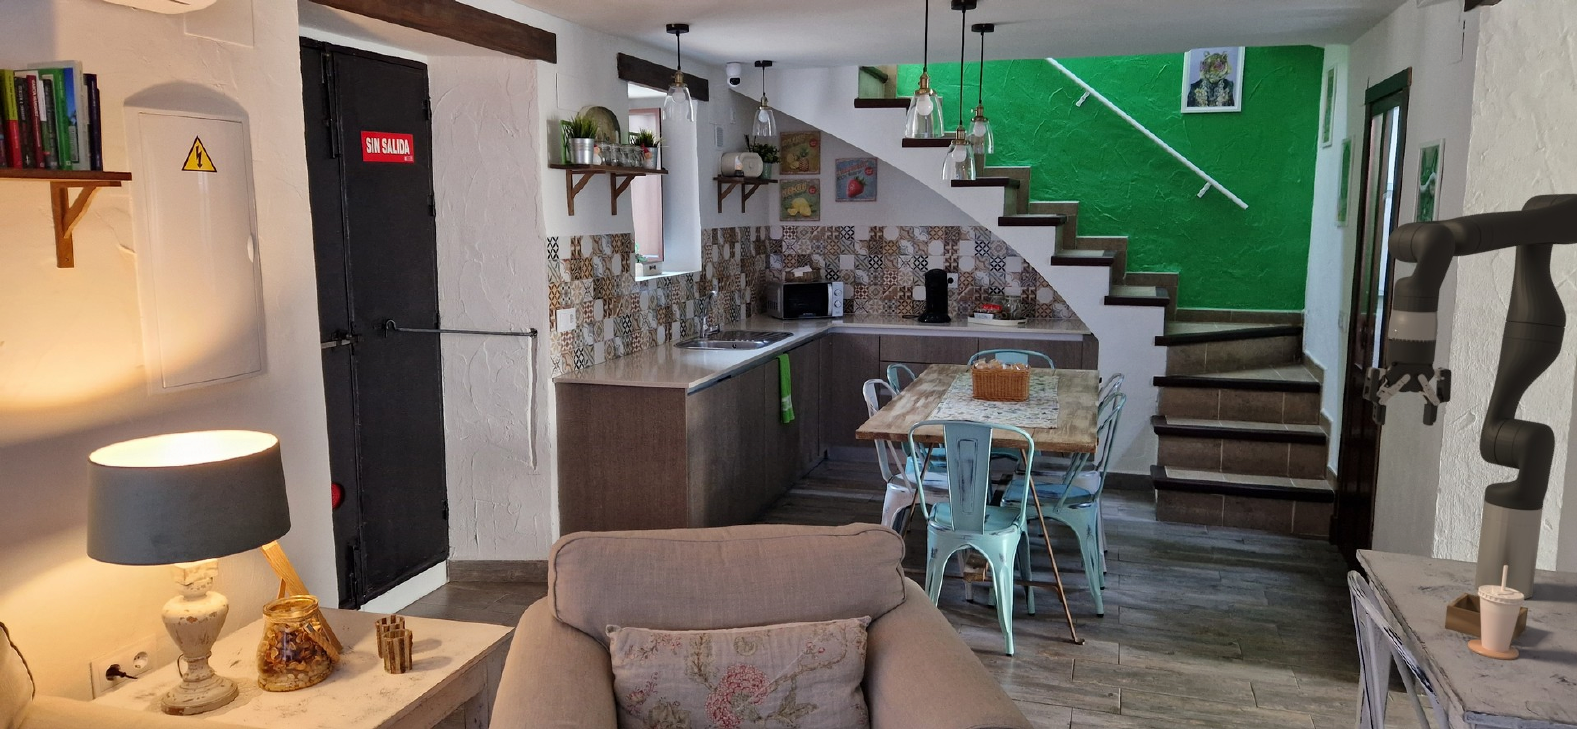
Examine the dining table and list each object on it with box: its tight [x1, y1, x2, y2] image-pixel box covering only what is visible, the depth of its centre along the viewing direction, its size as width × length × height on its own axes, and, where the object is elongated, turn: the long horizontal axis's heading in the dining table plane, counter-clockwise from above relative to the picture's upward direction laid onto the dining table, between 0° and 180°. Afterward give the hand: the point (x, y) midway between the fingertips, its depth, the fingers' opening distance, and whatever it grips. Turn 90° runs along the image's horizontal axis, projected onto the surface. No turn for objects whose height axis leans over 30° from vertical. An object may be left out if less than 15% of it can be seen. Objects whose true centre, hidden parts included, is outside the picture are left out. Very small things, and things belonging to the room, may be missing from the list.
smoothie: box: [1477, 565, 1525, 652], centre depth 174 cm, size 6×6×14 cm
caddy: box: [1444, 592, 1529, 645], centre depth 184 cm, size 10×10×4 cm
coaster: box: [1467, 638, 1520, 661], centre depth 175 cm, size 7×7×1 cm
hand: (1403, 424), depth 192 cm, fingers open, 8 cm apart
